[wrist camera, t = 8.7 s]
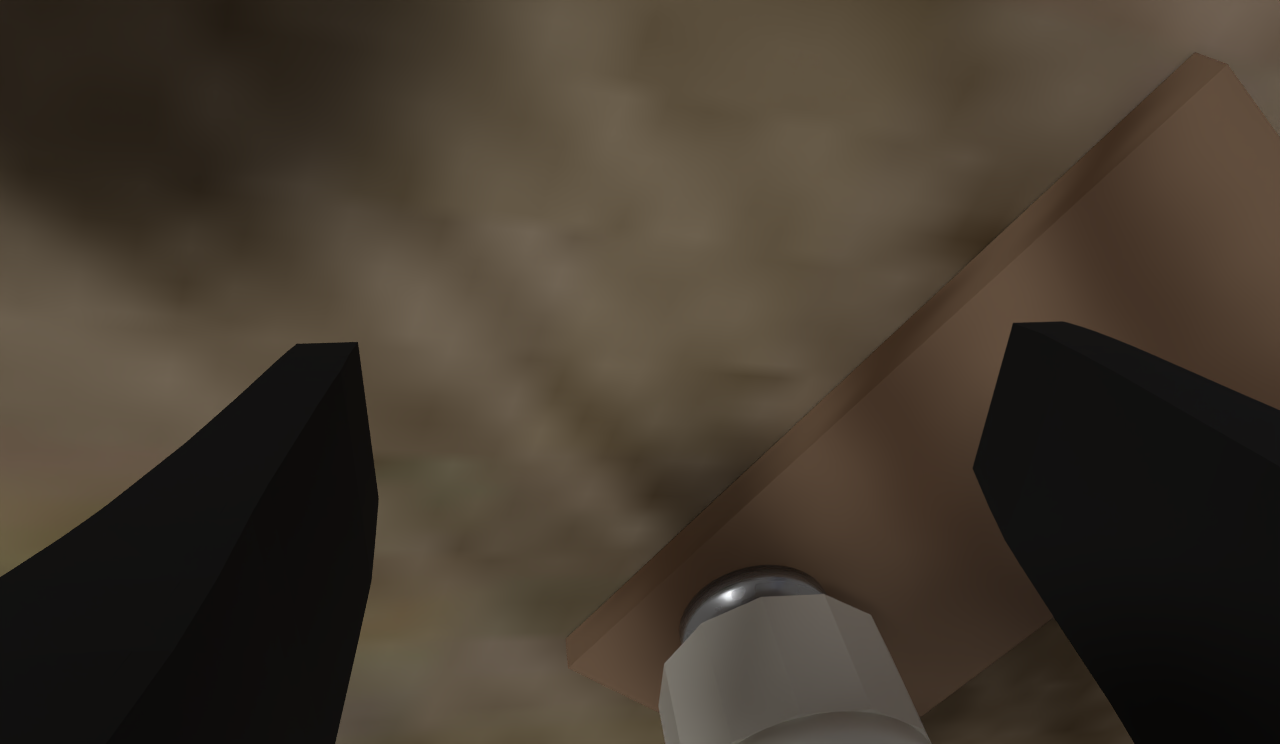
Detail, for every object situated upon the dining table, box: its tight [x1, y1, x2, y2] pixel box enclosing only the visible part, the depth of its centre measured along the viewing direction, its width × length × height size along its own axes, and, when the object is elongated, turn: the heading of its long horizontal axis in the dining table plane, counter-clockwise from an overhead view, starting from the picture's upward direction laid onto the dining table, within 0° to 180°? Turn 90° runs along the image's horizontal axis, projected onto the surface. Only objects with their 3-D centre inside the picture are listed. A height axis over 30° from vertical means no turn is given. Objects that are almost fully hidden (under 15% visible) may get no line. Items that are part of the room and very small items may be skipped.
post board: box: [566, 53, 1280, 717], centre depth 22 cm, size 20×10×6 cm, turn 138°
